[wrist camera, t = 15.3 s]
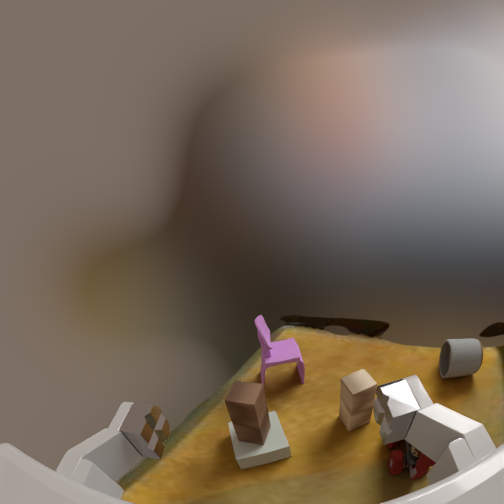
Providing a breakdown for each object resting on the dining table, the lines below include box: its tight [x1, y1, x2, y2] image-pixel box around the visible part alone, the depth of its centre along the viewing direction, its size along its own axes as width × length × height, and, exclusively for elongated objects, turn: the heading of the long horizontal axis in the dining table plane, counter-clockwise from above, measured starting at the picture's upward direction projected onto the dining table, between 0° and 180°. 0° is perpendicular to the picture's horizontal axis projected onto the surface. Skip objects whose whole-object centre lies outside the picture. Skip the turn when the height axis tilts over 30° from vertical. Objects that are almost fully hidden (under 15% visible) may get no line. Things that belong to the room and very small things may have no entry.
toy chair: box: [255, 315, 305, 386], centre depth 49 cm, size 8×9×15 cm
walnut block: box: [225, 381, 271, 445], centre depth 33 cm, size 4×4×10 cm
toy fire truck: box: [387, 439, 436, 480], centre depth 25 cm, size 7×12×10 cm, turn 166°
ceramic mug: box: [439, 339, 483, 378], centre depth 38 cm, size 11×8×8 cm
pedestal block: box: [228, 411, 291, 469], centre depth 35 cm, size 8×8×4 cm
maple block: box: [339, 369, 377, 431], centre depth 35 cm, size 4×4×10 cm
